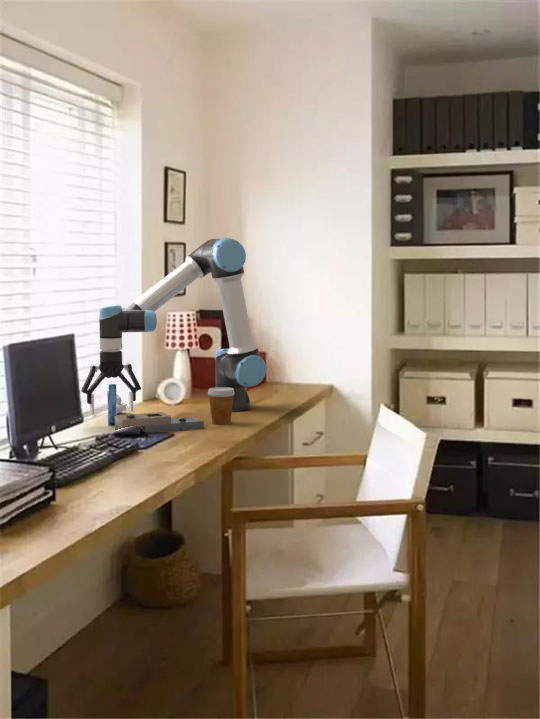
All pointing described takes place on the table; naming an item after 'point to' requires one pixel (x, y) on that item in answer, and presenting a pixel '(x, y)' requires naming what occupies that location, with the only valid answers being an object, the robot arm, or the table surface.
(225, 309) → the robot arm
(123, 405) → the rubber duck
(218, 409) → the disposable coffee cup
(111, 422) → the pin
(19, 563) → the table surface
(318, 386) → the table surface
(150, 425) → the grey fixture block
